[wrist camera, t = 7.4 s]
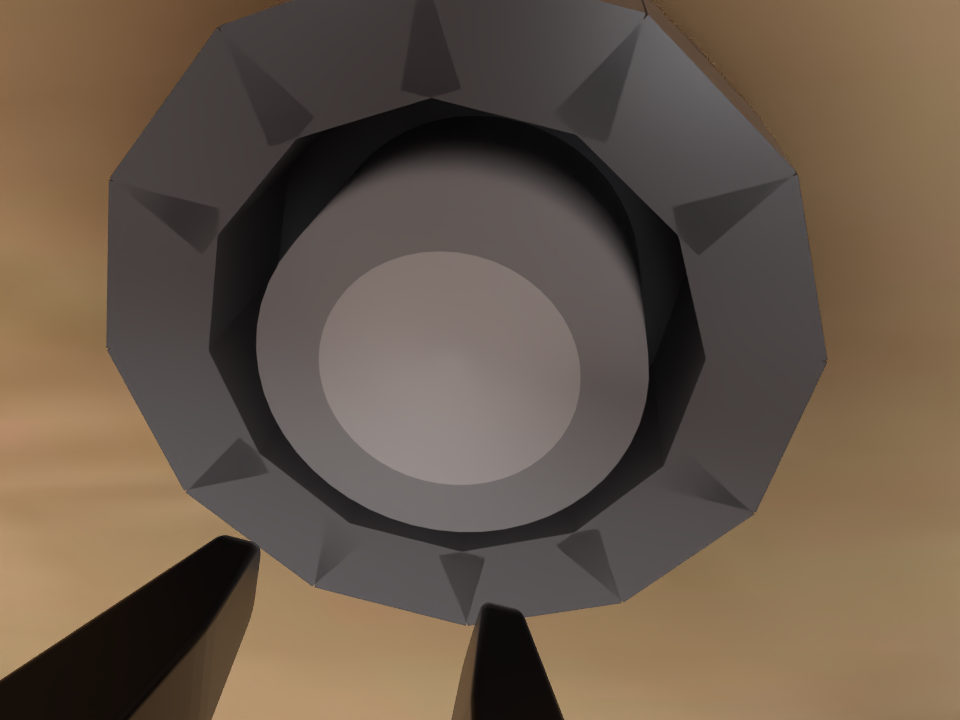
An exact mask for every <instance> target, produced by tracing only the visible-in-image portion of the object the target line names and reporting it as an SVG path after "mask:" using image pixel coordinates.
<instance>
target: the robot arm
mask: <svg viewBox="0 0 960 720" xmlns="http://www.w3.org/2000/svg"><path fill="white" fill-rule="evenodd" d="M259 562H260V547H259V546H258V545H257V544H256V543H254V542H251V541H247V540H243V539H239V538H235V537H231V536H227V535H223V536H219V537H217V538H215V539H213V540H212V541H210V542H209V543H207V544H206V545H204V546H203V547H201V548H200V549H198V550H197V551H195V552H194V553H192V554H191V555H189V556H188V557H186V558H185V559H183V560H182V561H180V562H179V563H177V564H176V565H174V566H173V567H171V568H170V569H168V570H166V571H165V572H163V573H162V574H160V575H159V576H157V577H156V578H154V579H153V580H151V581H150V582H148V583H147V584H145V585H144V586H142V587H141V588H139V589H138V590H136V591H135V592H133V593H132V594H130V595H129V596H127V597H126V598H124V599H123V600H121V601H120V602H118V603H116V604H115V605H113V606H112V607H110V608H109V609H107V610H106V611H104V612H103V613H101V614H100V615H98V616H97V617H95V618H94V619H92V620H91V621H89V622H88V623H86V624H85V625H83V626H82V627H80V628H79V629H77V630H76V631H74V632H73V633H71V634H69V635H68V636H66V637H65V638H63V639H62V640H60V641H59V642H57V643H56V644H54V645H53V646H51V647H50V648H48V649H47V650H45V651H44V652H42V653H41V654H39V655H38V656H36V657H35V658H33V659H32V660H30V661H29V662H27V663H26V664H24V665H23V666H21V667H19V668H18V669H16V670H15V671H13V672H12V673H10V674H9V675H7V676H6V677H4V678H3V679H1V680H0V720H211V719H212V717H213V714H214V712H215V709H216V706H217V704H218V701H219V699H220V696H221V693H222V691H223V688H224V686H225V683H226V680H227V678H228V675H229V673H230V670H231V667H232V665H233V662H234V660H235V657H236V654H237V652H238V649H239V647H240V644H241V642H242V639H243V636H244V634H245V631H246V629H247V626H248V623H249V620H250V617H251V614H252V610H253V606H254V600H255V593H256V585H257V577H258V570H259ZM452 720H564V718H563V715H562V713H561V710H560V708H559V705H558V703H557V700H556V697H555V695H554V692H553V690H552V687H551V685H550V682H549V679H548V677H547V674H546V672H545V669H544V666H543V664H542V661H541V659H540V656H539V654H538V651H537V648H536V646H535V643H534V641H533V638H532V636H531V633H530V630H529V628H528V625H527V623H526V620H525V618H524V616H523V614H522V613H521V612H520V611H519V610H517V609H514V608H510V607H507V606H503V605H499V604H495V603H491V602H486V603H484V604H483V605H482V606H481V608H480V611H479V614H478V617H477V620H476V623H475V627H474V630H473V633H472V637H471V640H470V643H469V647H468V650H467V653H466V657H465V660H464V664H463V668H462V672H461V677H460V681H459V686H458V691H457V696H456V701H455V705H454V710H453V715H452Z"/></svg>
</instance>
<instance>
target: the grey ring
mask: <svg viewBox="0 0 960 720" xmlns="http://www.w3.org/2000/svg"><path fill="white" fill-rule="evenodd" d="M463 116H487V117H498V118H504V119H509V120H514V121H518V122H522V123H525V124H528V125H531V126H534V127H537V128H539V129H541V130H544V131H546V132H548V133H550V134H552V135H554V136H556V137H558V138H560V139H561V140H563V141H564V142H566V143H567V144H569V145H570V146H572V147H573V148H575V149H577V150H578V151H579V152H580V153H581V154H582V155H584V156H585V157H586V158H587V159H588V160H589V161H591V162H592V163H593V164H594V165H595V166H596V167H597V169H598V170H599V171H600V172H601V173H602V174H603V175H604V176H605V178H606V179H607V180H608V181H609V183H610V184H611V186H612V187H613V189H614V190H615V192H616V193H617V195H618V196H619V198H620V200H621V202H622V204H623V206H624V208H625V210H626V212H627V214H628V216H629V219H630V222H631V225H632V228H633V231H634V234H635V239H636V245H637V250H638V257H639V267H640V277H641V287H642V297H643V308H644V318H645V328H646V338H647V348H648V367H649V382H648V389H647V397H646V403H645V407H644V410H643V414H642V417H641V421H640V424H639V426H638V429H637V431H636V433H635V435H634V437H633V439H632V442H631V444H630V446H629V447H628V449H627V450H626V452H625V453H624V455H623V456H622V458H621V459H620V461H619V462H618V464H617V465H616V466H615V467H614V468H613V469H612V471H611V472H610V473H609V474H608V475H607V476H606V477H605V479H604V480H603V481H601V482H600V483H599V484H598V485H597V486H596V487H595V488H593V489H592V490H591V491H590V492H589V493H588V494H586V495H585V496H583V497H582V498H580V499H579V500H577V501H576V502H574V503H573V504H571V505H570V506H568V507H566V508H564V509H562V510H560V511H558V512H556V513H554V514H552V515H550V516H548V517H545V518H542V519H540V520H537V521H534V522H531V523H528V524H525V525H521V526H516V527H512V528H508V529H502V530H493V531H485V532H453V531H443V530H434V529H429V528H424V527H419V526H414V525H410V524H407V523H404V522H401V521H398V520H394V519H391V518H389V517H386V516H384V515H382V514H379V513H377V512H374V511H372V510H370V509H368V508H366V507H364V506H362V505H361V504H359V503H357V502H355V501H353V500H352V499H350V498H348V497H347V496H345V495H344V494H342V493H341V492H340V491H338V490H337V489H335V488H334V487H332V486H331V485H330V484H328V483H327V482H326V481H325V480H324V479H323V478H322V477H320V476H319V475H318V474H317V473H316V472H315V471H314V470H312V469H311V467H310V466H309V465H308V464H307V463H306V462H305V461H304V460H303V459H302V458H301V457H300V455H299V454H298V453H297V452H296V451H295V449H294V448H293V447H292V445H291V444H290V442H289V441H288V440H287V438H286V437H285V435H284V434H283V432H282V431H281V429H280V427H279V425H278V423H277V422H276V420H275V418H274V416H273V414H272V412H271V409H270V407H269V404H268V402H267V399H266V397H265V394H264V391H263V387H262V383H261V379H260V375H259V371H258V362H257V353H256V337H257V323H258V318H259V313H260V307H261V303H262V300H263V297H264V294H265V291H266V289H267V286H268V283H269V281H270V279H271V277H272V275H273V273H274V272H275V270H276V268H277V266H278V264H279V262H280V261H281V259H282V258H283V257H284V255H285V254H286V253H287V251H288V250H289V249H290V247H291V246H292V245H293V243H294V242H295V241H296V240H297V239H298V238H299V236H300V235H301V234H302V233H303V232H304V231H305V229H306V228H307V227H308V226H309V225H310V224H311V222H312V221H313V220H314V219H315V218H316V217H317V215H318V214H319V213H320V212H321V211H322V210H323V208H324V207H325V206H326V205H327V204H328V203H329V201H330V200H331V199H332V198H333V197H334V196H335V194H336V193H337V192H338V191H339V190H340V189H341V187H342V186H343V185H344V184H345V183H346V182H347V181H348V179H349V178H350V177H351V176H352V175H353V174H354V172H355V171H356V170H357V169H358V168H359V167H360V165H361V164H363V163H364V162H365V161H366V160H367V159H368V158H369V157H370V156H371V155H372V154H373V153H374V152H375V151H376V150H377V149H379V148H380V147H382V146H383V145H384V144H386V143H387V142H388V141H390V140H391V139H393V138H395V137H397V136H399V135H400V134H402V133H404V132H406V131H408V130H410V129H413V128H415V127H418V126H421V125H423V124H426V123H429V122H433V121H437V120H442V119H446V118H451V117H463ZM110 178H111V180H109V212H108V278H107V344H106V348H109V349H108V350H107V351H108V353H109V354H110V356H111V358H112V360H113V362H114V363H115V365H116V367H117V369H118V371H119V373H120V374H121V376H122V378H123V380H124V382H125V384H126V385H127V387H128V389H129V391H130V393H131V395H132V396H133V398H134V400H135V402H136V404H137V405H138V407H139V409H140V411H141V413H142V415H143V416H144V418H145V420H146V422H147V424H148V426H149V427H150V429H151V431H152V433H153V435H154V436H155V438H156V440H157V442H158V444H159V446H160V447H161V449H162V451H163V453H164V455H165V457H166V458H167V460H168V462H169V464H170V466H171V467H172V469H173V471H174V473H175V475H176V477H177V478H178V480H179V482H180V484H181V486H182V488H183V489H184V490H187V491H186V493H187V494H189V495H190V496H191V497H193V498H194V499H195V500H197V501H198V502H199V503H201V504H202V505H203V506H205V507H206V508H207V509H209V510H210V511H212V512H213V513H214V514H216V515H217V516H218V517H220V518H221V519H222V520H224V521H225V522H226V523H228V524H229V525H230V526H232V527H233V528H234V529H236V530H237V531H238V532H240V533H241V534H243V535H244V536H245V537H247V538H248V539H249V540H251V541H252V542H254V543H256V544H257V545H258V546H259V547H260V548H261V549H263V550H264V551H265V552H267V553H268V554H270V555H271V556H272V557H274V558H275V559H276V560H278V561H279V562H280V563H282V564H283V565H284V566H286V567H287V568H288V569H290V570H291V571H292V572H294V573H295V574H296V575H298V576H299V577H301V578H302V579H303V580H305V581H306V582H307V583H309V584H310V585H311V586H313V585H314V584H315V588H319V589H323V590H327V591H331V592H335V593H339V594H343V595H347V596H351V597H355V598H359V599H363V600H367V601H371V602H375V603H378V604H382V605H386V606H390V607H394V608H398V609H402V610H406V611H410V612H414V613H418V614H422V615H426V616H430V617H434V618H437V619H441V620H445V621H449V622H453V623H457V624H461V625H465V626H466V622H467V625H468V626H470V625H475V623H476V620H477V617H478V614H479V611H480V608H481V606H482V605H483V604H484V603H486V602H491V603H495V604H499V605H503V606H507V607H510V608H514V609H517V610H519V611H520V612H521V613H522V614H523V616H524V617H531V616H537V615H544V614H551V613H558V612H564V611H571V610H578V609H585V608H591V607H598V606H605V605H612V604H619V603H622V602H621V600H622V601H623V602H625V601H626V600H628V599H629V598H631V597H632V596H634V595H635V594H637V593H638V592H640V591H641V590H643V589H644V588H646V587H647V586H649V585H650V584H652V583H653V582H654V581H656V580H657V579H659V578H660V577H662V576H663V575H665V574H666V573H668V572H669V571H671V570H672V569H674V568H675V567H677V566H678V565H680V564H681V563H683V562H684V561H686V560H687V559H689V558H690V557H691V556H693V555H694V554H696V553H697V552H699V551H700V550H702V549H703V548H705V547H706V546H708V545H709V544H711V543H712V542H714V541H715V540H717V539H718V538H720V537H721V536H723V535H724V534H726V533H727V532H728V531H730V530H731V529H733V528H734V527H736V526H737V525H739V524H740V523H742V522H743V521H745V520H746V519H748V518H749V517H751V516H752V515H754V512H756V511H757V509H758V507H759V504H760V502H761V500H762V498H763V496H764V494H765V492H766V490H767V488H768V485H769V483H770V481H771V479H772V477H773V475H774V473H775V471H776V469H777V467H778V464H779V462H780V460H781V458H782V456H783V454H784V452H785V450H786V448H787V445H788V443H789V441H790V439H791V437H792V435H793V433H794V431H795V429H796V427H797V424H798V422H799V420H800V418H801V416H802V414H803V412H804V410H805V408H806V405H807V403H808V401H809V399H810V397H811V395H812V393H813V391H814V389H815V387H816V384H817V382H818V380H819V378H820V376H821V374H822V372H823V370H824V368H825V365H826V363H827V362H826V360H827V355H826V349H825V342H824V336H823V330H822V323H821V317H820V311H819V304H818V298H817V292H816V286H815V279H814V273H813V267H812V260H811V254H810V248H809V241H808V235H807V229H806V222H805V216H804V210H803V203H802V197H801V191H800V185H799V178H798V174H797V173H796V171H795V169H794V168H793V166H792V165H791V163H790V162H789V160H788V159H787V157H786V156H785V154H784V153H783V151H782V150H781V148H780V147H779V145H778V144H777V142H776V141H775V139H774V138H773V136H772V135H771V133H770V132H769V130H768V129H767V128H766V126H765V125H764V123H763V122H762V120H761V119H760V117H759V116H758V114H757V113H756V112H755V111H754V110H753V109H752V108H751V106H750V105H749V104H748V103H747V102H746V101H745V100H744V99H743V98H742V97H741V96H740V95H739V94H738V93H737V91H736V90H735V89H734V88H733V87H732V86H731V85H730V84H729V83H728V82H727V81H726V80H725V79H724V78H723V76H722V75H721V74H720V73H719V72H718V71H717V70H716V69H715V68H714V67H713V65H712V64H711V63H710V62H709V60H708V59H707V58H706V57H705V55H704V54H703V53H702V52H701V50H700V49H699V48H698V47H697V45H696V44H695V43H694V42H693V41H692V40H691V39H690V38H689V37H688V36H687V35H686V34H685V33H683V32H682V31H681V30H680V29H679V28H678V27H677V26H676V25H675V24H674V23H673V22H672V21H671V20H669V19H668V18H667V16H666V15H665V14H664V13H663V12H662V11H661V10H660V9H659V8H658V7H657V6H656V5H655V4H654V3H653V1H652V0H287V1H285V2H282V3H279V4H277V5H274V6H271V7H269V8H266V9H263V10H260V11H258V12H255V13H252V14H250V15H247V16H244V17H242V18H239V19H236V20H234V21H231V22H228V23H226V24H223V25H220V27H217V28H216V30H215V31H214V32H213V34H212V35H211V37H210V38H209V39H208V41H207V42H206V44H205V45H204V46H203V48H202V49H201V51H200V52H199V53H198V55H197V56H196V58H195V59H194V60H193V62H192V63H191V65H190V66H189V67H188V69H187V70H186V72H185V73H184V74H183V76H182V77H181V79H180V80H179V82H178V83H177V84H176V86H175V87H174V89H173V90H172V91H171V93H170V94H169V96H168V97H167V98H166V100H165V101H164V103H163V104H162V105H161V107H160V108H159V110H158V111H157V112H156V114H155V115H154V117H153V118H152V119H151V121H150V122H149V124H148V125H147V126H146V128H145V129H144V131H143V132H142V133H141V135H140V136H139V138H138V139H137V140H136V142H135V143H134V145H133V146H132V147H131V149H130V150H129V152H128V153H127V154H126V156H125V157H124V159H123V160H122V161H121V163H120V164H119V166H118V167H117V168H116V170H115V171H114V173H113V174H112V175H111V177H110Z"/></svg>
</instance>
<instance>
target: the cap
mask: <svg viewBox="0 0 960 720" xmlns="http://www.w3.org/2000/svg"><path fill="white" fill-rule="evenodd" d="M256 353H257V362H258V371H259V375H260V379H261V383H262V387H263V391H264V394H265V397H266V399H267V402H268V404H269V407H270V409H271V412H272V414H273V416H274V418H275V420H276V422H277V423H278V425H279V427H280V429H281V431H282V432H283V434H284V435H285V437H286V438H287V440H288V441H289V442H290V444H291V445H292V447H293V448H294V449H295V451H296V452H297V453H298V454H299V455H300V457H301V458H302V459H303V460H304V461H305V462H306V463H307V464H308V465H309V466H310V467H311V469H312V470H314V471H315V472H316V473H317V474H318V475H319V476H320V477H322V478H323V479H324V480H325V481H326V482H327V483H328V484H330V485H331V486H332V487H334V488H335V489H337V490H338V491H340V492H341V493H342V494H344V495H345V496H347V497H348V498H350V499H352V500H353V501H355V502H357V503H359V504H361V505H362V506H364V507H366V508H368V509H370V510H372V511H374V512H377V513H379V514H382V515H384V516H386V517H389V518H391V519H394V520H398V521H401V522H404V523H407V524H410V525H414V526H419V527H424V528H429V529H434V530H443V531H453V532H485V531H493V530H502V529H508V528H512V527H516V526H521V525H525V524H528V523H531V522H534V521H537V520H540V519H542V518H545V517H548V516H550V515H552V514H554V513H556V512H558V511H560V510H562V509H564V508H566V507H568V506H570V505H571V504H573V503H574V502H576V501H577V500H579V499H580V498H582V497H583V496H585V495H586V494H588V493H589V492H590V491H591V490H592V489H593V488H595V487H596V486H597V485H598V484H599V483H600V482H601V481H603V480H604V479H605V477H606V476H607V475H608V474H609V473H610V472H611V471H612V469H613V468H614V467H615V466H616V465H617V464H618V462H619V461H620V459H621V458H622V456H623V455H624V453H625V452H626V450H627V449H628V447H629V446H630V444H631V442H632V439H633V437H634V435H635V433H636V431H637V429H638V426H639V424H640V421H641V417H642V414H643V410H644V407H645V403H646V397H647V389H648V382H649V367H648V348H647V338H646V328H645V318H644V308H643V297H642V287H641V277H640V267H639V257H638V250H637V245H636V239H635V234H634V231H633V228H632V225H631V222H630V219H629V216H628V214H627V212H626V210H625V208H624V206H623V204H622V202H621V200H620V198H619V196H618V195H617V193H616V192H615V190H614V189H613V187H612V186H611V184H610V183H609V181H608V180H607V179H606V178H605V176H604V175H603V174H602V173H601V172H600V171H599V170H598V169H597V167H596V166H595V165H594V164H593V163H592V162H591V161H589V160H588V159H587V158H586V157H585V156H584V155H582V154H581V153H580V152H579V151H578V150H577V149H575V148H573V147H572V146H570V145H569V144H567V143H566V142H564V141H563V140H561V139H560V138H558V137H556V136H554V135H552V134H550V133H548V132H546V131H544V130H541V129H539V128H537V127H534V126H531V125H528V124H525V123H522V122H518V121H514V120H509V119H504V118H498V117H487V116H463V117H451V118H446V119H442V120H437V121H433V122H429V123H426V124H423V125H421V126H418V127H415V128H413V129H410V130H408V131H406V132H404V133H402V134H400V135H399V136H397V137H395V138H393V139H391V140H390V141H388V142H387V143H386V144H384V145H383V146H382V147H380V148H379V149H377V150H376V151H375V152H374V153H373V154H372V155H371V156H370V157H369V158H368V159H367V160H366V161H365V162H364V163H363V164H361V165H360V167H359V168H358V169H357V170H356V171H355V172H354V174H353V175H352V176H351V177H350V178H349V179H348V181H347V182H346V183H345V184H344V185H343V186H342V187H341V189H340V190H339V191H338V192H337V193H336V194H335V196H334V197H333V198H332V199H331V200H330V201H329V203H328V204H327V205H326V206H325V207H324V208H323V210H322V211H321V212H320V213H319V214H318V215H317V217H316V218H315V219H314V220H313V221H312V222H311V224H310V225H309V226H308V227H307V228H306V229H305V231H304V232H303V233H302V234H301V235H300V236H299V238H298V239H297V240H296V241H295V242H294V243H293V245H292V246H291V247H290V249H289V250H288V251H287V253H286V254H285V255H284V257H283V258H282V259H281V261H280V262H279V264H278V266H277V268H276V270H275V272H274V273H273V275H272V277H271V279H270V281H269V283H268V286H267V289H266V291H265V294H264V297H263V300H262V303H261V307H260V313H259V318H258V323H257V337H256Z"/></svg>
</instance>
